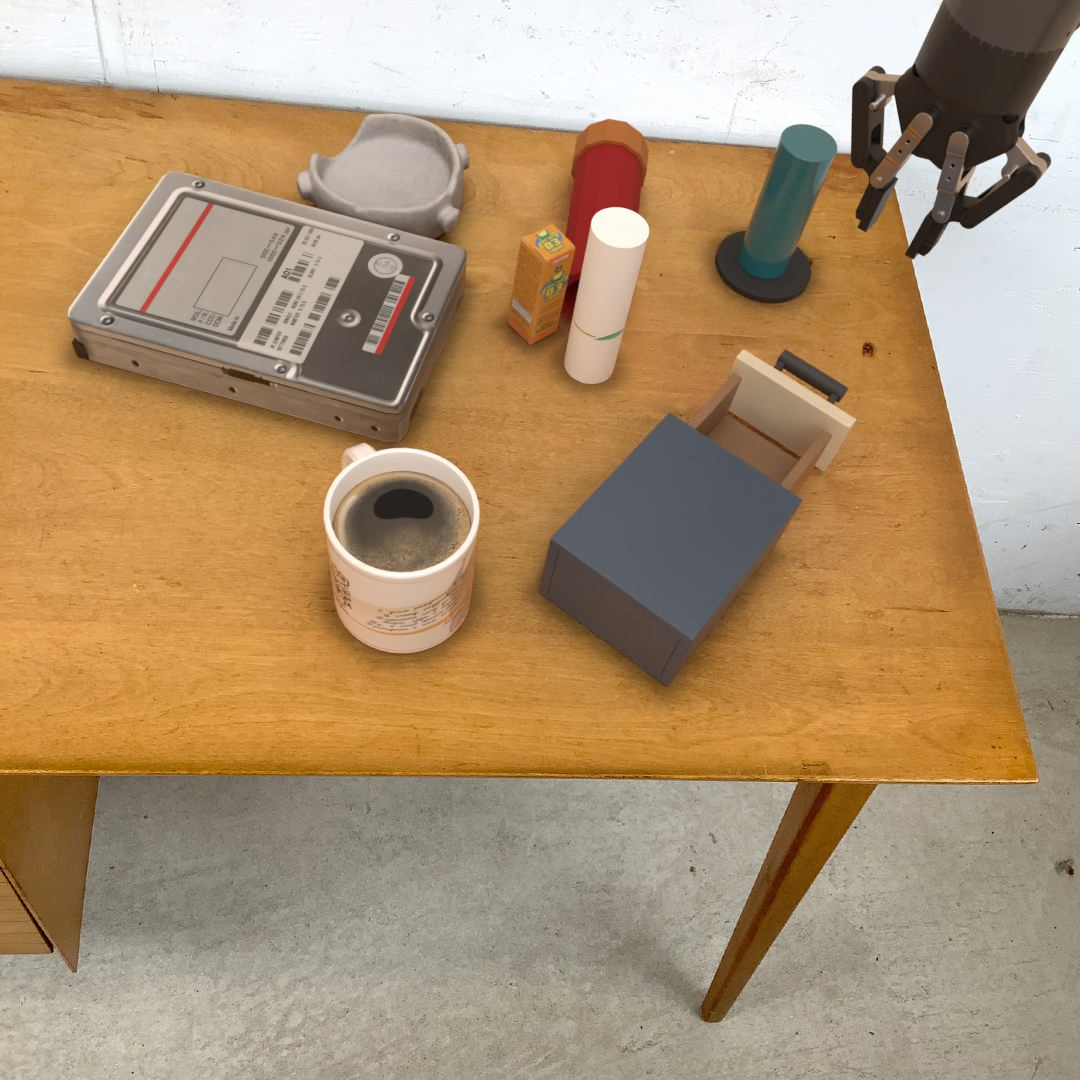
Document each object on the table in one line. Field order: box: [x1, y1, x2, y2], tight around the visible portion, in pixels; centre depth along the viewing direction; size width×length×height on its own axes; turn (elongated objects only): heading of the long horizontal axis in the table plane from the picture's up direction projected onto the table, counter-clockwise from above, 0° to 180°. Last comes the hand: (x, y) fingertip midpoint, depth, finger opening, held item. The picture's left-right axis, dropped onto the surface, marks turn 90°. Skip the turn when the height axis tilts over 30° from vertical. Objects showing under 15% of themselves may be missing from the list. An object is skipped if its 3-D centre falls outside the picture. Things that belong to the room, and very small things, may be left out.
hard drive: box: [67, 170, 468, 443], centre depth 83 cm, size 18×27×4 cm
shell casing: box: [561, 118, 650, 320], centre depth 91 cm, size 7×20×7 cm, turn 173°
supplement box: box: [507, 223, 575, 346], centre depth 83 cm, size 3×3×10 cm
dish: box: [295, 112, 471, 240], centre depth 92 cm, size 14×14×5 cm
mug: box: [322, 442, 481, 654], centre depth 69 cm, size 10×12×11 cm
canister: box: [738, 123, 838, 279], centre depth 89 cm, size 5×5×13 cm
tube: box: [563, 207, 650, 385], centre depth 80 cm, size 4×4×15 cm
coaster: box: [714, 229, 812, 304], centre depth 95 cm, size 9×9×1 cm
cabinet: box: [538, 412, 803, 688], centre depth 73 cm, size 15×12×8 cm
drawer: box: [687, 348, 857, 495], centre depth 79 cm, size 18×10×6 cm, turn 142°
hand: (891, 237), depth 73 cm, fingers open, 3 cm apart
